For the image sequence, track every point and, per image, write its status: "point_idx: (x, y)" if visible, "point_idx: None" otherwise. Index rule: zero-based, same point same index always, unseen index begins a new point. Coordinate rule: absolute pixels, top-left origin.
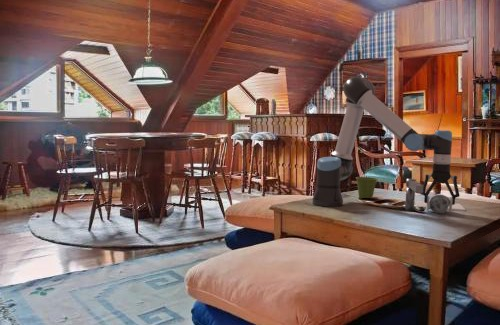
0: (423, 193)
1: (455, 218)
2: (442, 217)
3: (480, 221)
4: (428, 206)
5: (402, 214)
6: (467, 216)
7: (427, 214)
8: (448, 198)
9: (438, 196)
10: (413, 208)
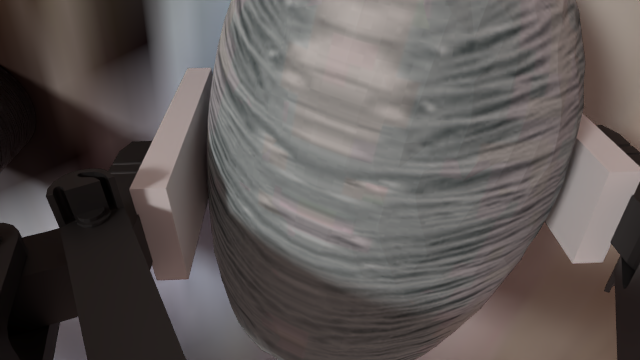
0: (48, 327)
1: None
2: None
3: (611, 352)
4: None
5: None
6: None
7: (219, 270)
8: (546, 214)
9: (343, 351)
10: (19, 146)
